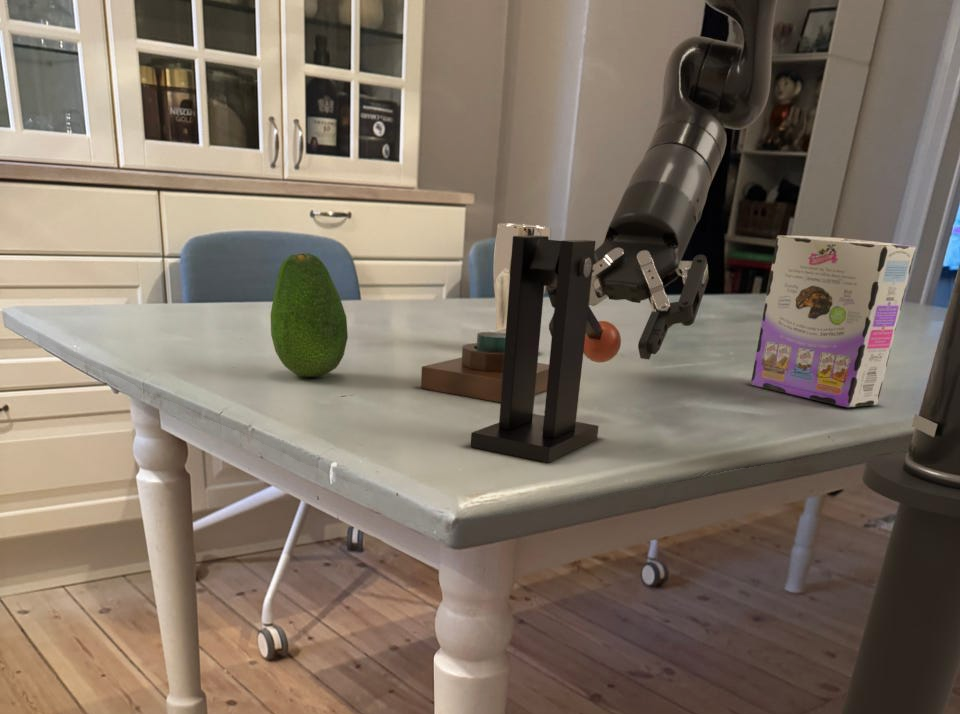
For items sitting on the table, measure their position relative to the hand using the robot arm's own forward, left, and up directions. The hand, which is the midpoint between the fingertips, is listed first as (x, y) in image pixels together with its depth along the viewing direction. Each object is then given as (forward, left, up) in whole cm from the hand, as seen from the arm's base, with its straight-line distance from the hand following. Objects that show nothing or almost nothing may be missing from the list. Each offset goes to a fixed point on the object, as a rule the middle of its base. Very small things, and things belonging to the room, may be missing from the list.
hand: (598, 346), depth 84 cm
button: (+14, -6, -3) cm, 15 cm away
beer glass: (+23, -29, -7) cm, 38 cm away
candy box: (-14, -31, -7) cm, 35 cm away
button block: (+14, -6, -7) cm, 17 cm away
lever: (0, +7, +2) cm, 7 cm away
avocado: (+30, +4, -7) cm, 31 cm away
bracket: (0, +12, -7) cm, 14 cm away
